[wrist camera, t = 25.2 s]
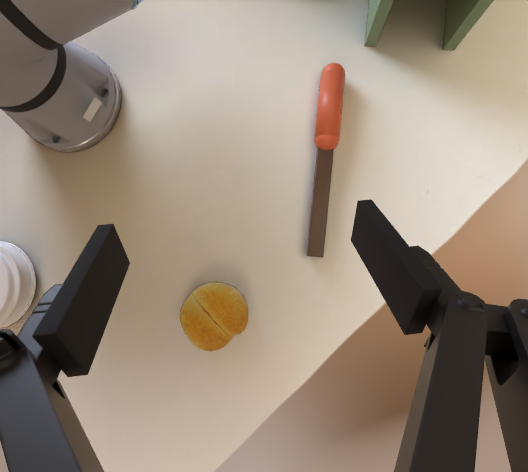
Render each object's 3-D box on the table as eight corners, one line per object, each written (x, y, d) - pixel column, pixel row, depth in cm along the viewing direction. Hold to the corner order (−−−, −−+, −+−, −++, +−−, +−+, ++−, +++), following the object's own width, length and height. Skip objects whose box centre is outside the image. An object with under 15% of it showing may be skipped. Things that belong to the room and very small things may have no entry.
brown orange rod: (326, 257, 40) (329, 257, 36) (302, 255, 40) (303, 255, 37) (343, 73, 41) (348, 57, 38) (320, 72, 41) (323, 56, 38)
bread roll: (260, 314, 40) (257, 321, 36) (210, 356, 40) (201, 367, 36) (222, 267, 41) (215, 269, 37) (173, 309, 41) (161, 314, 37)
